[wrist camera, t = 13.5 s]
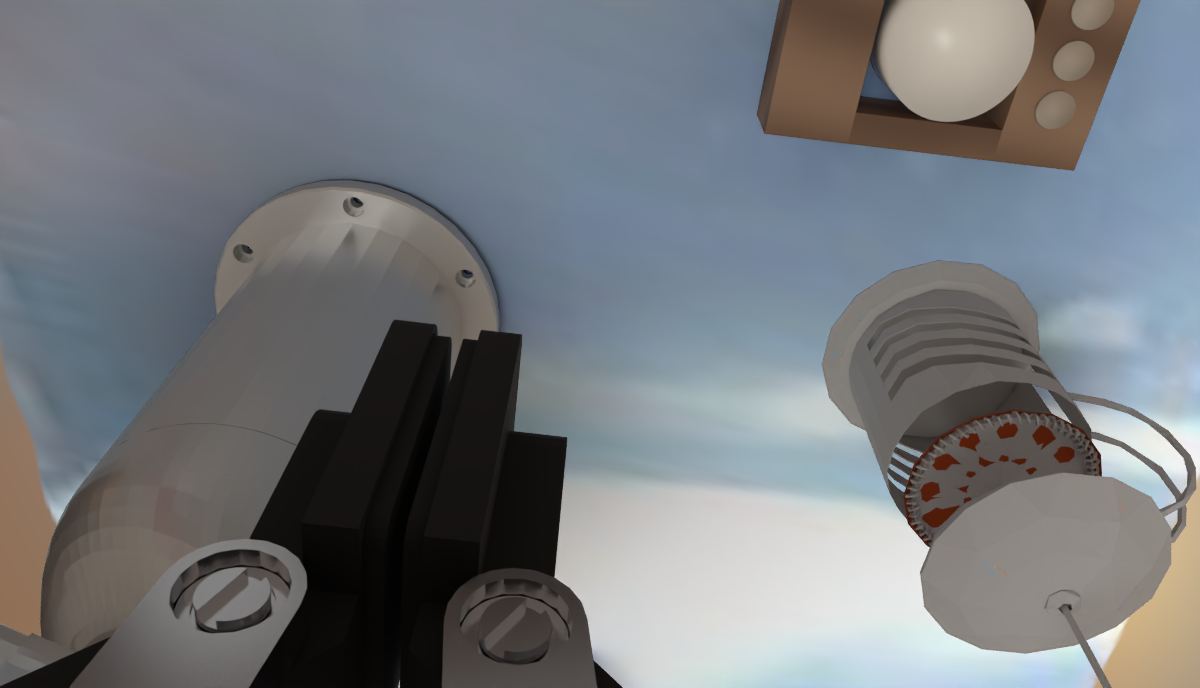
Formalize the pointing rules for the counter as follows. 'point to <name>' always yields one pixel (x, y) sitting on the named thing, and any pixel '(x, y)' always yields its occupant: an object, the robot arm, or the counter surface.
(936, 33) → the three-pip button
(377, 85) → the counter surface
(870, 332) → the french press
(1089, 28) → the button panel
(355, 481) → the robot arm
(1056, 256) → the counter surface
